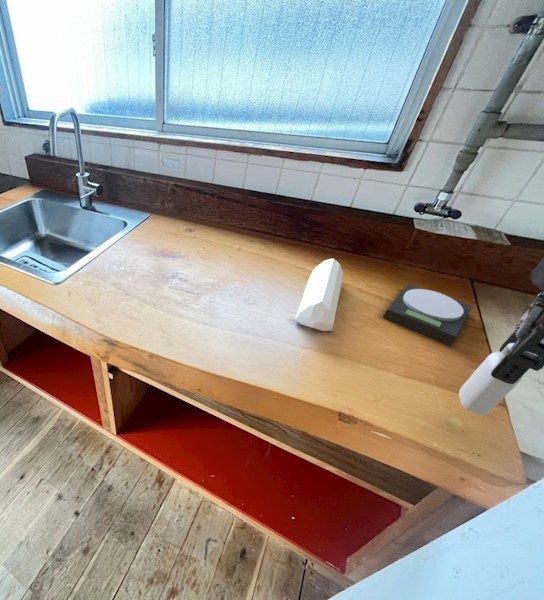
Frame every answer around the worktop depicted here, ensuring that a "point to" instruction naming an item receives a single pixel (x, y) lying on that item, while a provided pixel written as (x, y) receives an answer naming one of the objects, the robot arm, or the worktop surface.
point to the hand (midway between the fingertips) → (505, 365)
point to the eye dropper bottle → (485, 386)
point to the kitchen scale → (428, 313)
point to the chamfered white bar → (321, 296)
